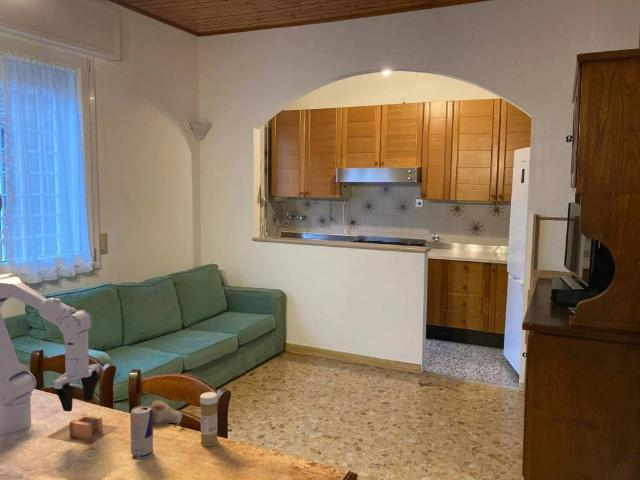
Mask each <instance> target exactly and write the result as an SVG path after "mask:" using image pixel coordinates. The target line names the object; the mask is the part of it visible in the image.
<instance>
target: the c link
mask: <svg viewBox="0 0 640 480" xmlns="http://www.w3.org/2000/svg"><path fill="white" fill-rule="evenodd" d="M89 418H93V431H97V432H100V431H101V430H102V424H103V417H102V416H97V415H91V414H86V413H85V414H82V415H80V416H78V417H76V418H74V419H73V420H72V421H69V424H68V425H69V428H70V435H71V436H77V437H82V438H87V439H88V438H90V437H91V436H92V433H91V423H88V419H89Z"/></svg>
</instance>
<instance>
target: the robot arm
mask: <svg viewBox="0 0 640 480" xmlns="http://www.w3.org/2000/svg"><path fill="white" fill-rule="evenodd" d="M11 298H14V299H15V300H17V301H20V302H22V303H23V304H26V305H28V306H30V307H32V308H33V309H35V310H38V314H39V316H40V318H43V319H44V320H46V321H48V322H50V323H51V324H53V325H56V326H57V327H59V331H60V332H61V334H62V335H63V336H62V337H63V341H64V350H65V351H64V357H65V358H64V360H65V364H64V365H65V372H64V373H63V374H62V375H61V376H59V377H58V378H56V379H55V380H53V386H52V391H54V392H55V395H57V397H58V399H59V401H60V404H61V407H62V410H63V412H69V413H70V412H72V411H73V400H74V399H73V398H74V394H75V393H74V392H75V390H76V389H77V388H76V387H75V386H71V383H73V382H76V381H77V380H80V381H81V384H82V392H83V400H84V401H89V402H91V401H93V399H94V396H95V395H94V394H95V390H96V387H97V385H98V383H99V381H100V379H101V378H102V377H101V373H99V372H100V364H96V363H92V364H90V363H89V362H90V360H89V359H90V358H89V357H90V356H89V355H90V354H89V330H90V328H92V325H93V317H92V315H91V314H90V313H89V312H87V311H86V310H84V309H79V310H77V309H76V308H75V307H71V306H69V305H67V304H65V303H63V302H62V299H60V298H58V297H56V298H55V297H50V298H49V297H48V298H46V297H44V296H43V295H41V294H40V293H38V291H36V290H34V289H32V288H31V287H29V286H28V285H27V284H25V283H23V282H22V281H21V278H20V277H17V276H15V275H14V274H12V273H10V272H4V273H1V274H0V310H2V307H3V305H4V304H5V302H7V301H8V300H9V299H11ZM36 386H37V380H36V377H35V376H34V374H33V373H32V372H31V371H30V369H29V367H28V365H26V364H23V363H21V362H20V360H19V358H18V355H17V353H16V350H15V347H14V345H13V343H12V339H11V337H10V334H9V331H8V328H7V325H6V323H5V320H4V318H3V315H2V312H1V311H0V437H1V436H3V435H6V434H7V433H15V432H19V431H23V430H25V429H27V428H30V426H31V425H32V412H31V411H32V409H31V407H32V406H31V404H32V403H31V402H32V401H31V397H32V396H33V394H32V393H33V391H34V390H35V389H36Z"/></svg>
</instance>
